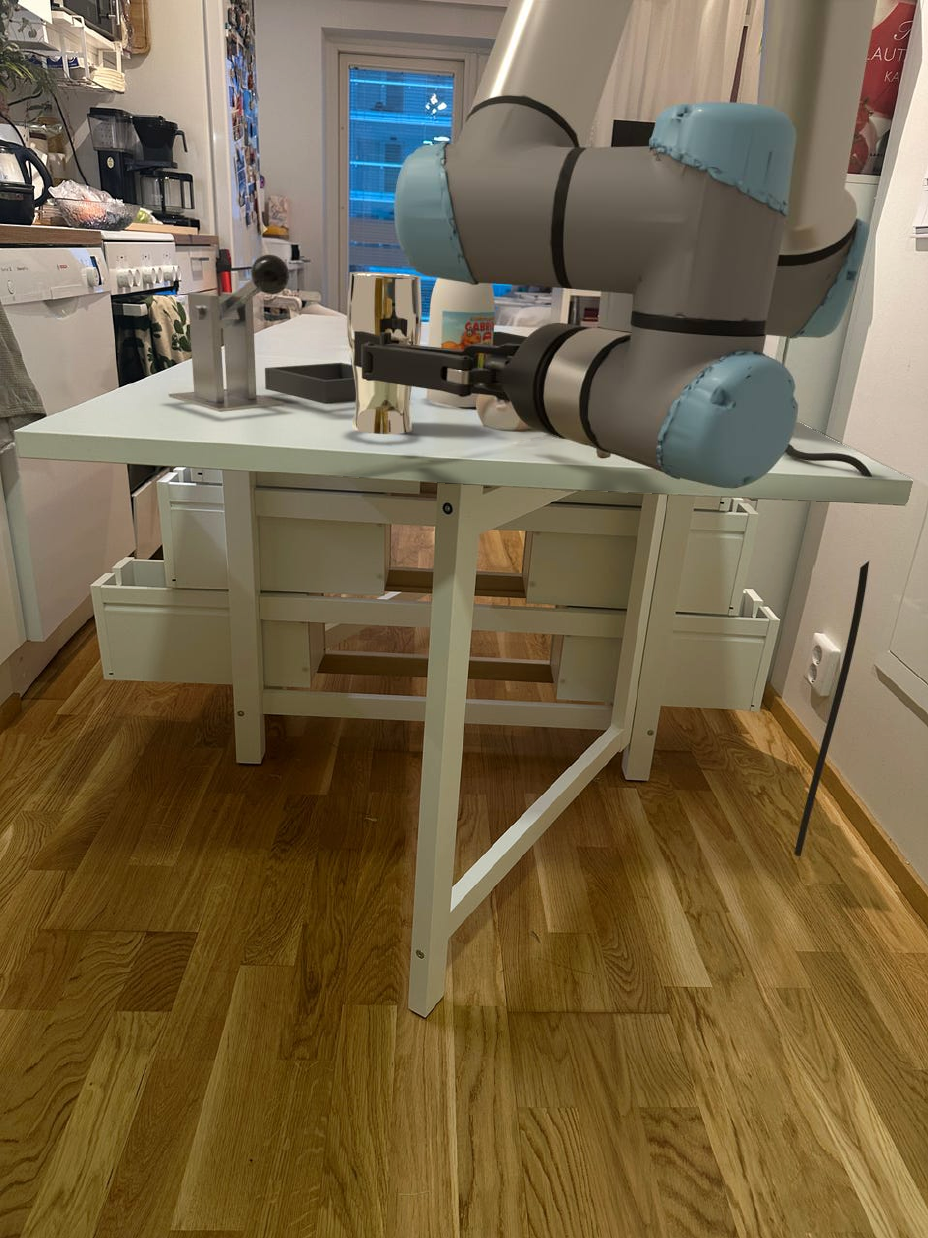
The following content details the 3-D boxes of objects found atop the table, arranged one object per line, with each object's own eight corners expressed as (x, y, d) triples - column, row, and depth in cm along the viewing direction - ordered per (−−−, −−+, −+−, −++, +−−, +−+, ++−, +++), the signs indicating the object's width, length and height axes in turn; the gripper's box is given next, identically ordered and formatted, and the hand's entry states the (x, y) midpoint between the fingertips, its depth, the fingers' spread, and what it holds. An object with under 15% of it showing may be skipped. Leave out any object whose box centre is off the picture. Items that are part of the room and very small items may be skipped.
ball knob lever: (300, 286, 85) (290, 248, 85) (269, 285, 83) (258, 247, 82) (234, 333, 95) (224, 299, 94) (204, 334, 92) (194, 300, 92)
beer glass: (338, 440, 84) (337, 272, 79) (357, 427, 91) (358, 270, 85) (409, 446, 84) (414, 277, 78) (424, 432, 90) (429, 275, 84)
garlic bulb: (514, 443, 87) (521, 360, 84) (464, 432, 91) (468, 352, 88) (551, 435, 92) (558, 356, 89) (501, 425, 96) (507, 348, 93)
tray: (401, 403, 105) (402, 374, 104) (325, 411, 98) (324, 381, 96) (340, 389, 112) (340, 362, 111) (265, 396, 105) (264, 367, 103)
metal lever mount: (283, 413, 96) (280, 297, 91) (219, 420, 90) (212, 297, 86) (232, 398, 102) (227, 290, 97) (169, 404, 97) (160, 290, 92)
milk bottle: (415, 403, 106) (421, 220, 98) (441, 395, 112) (448, 223, 104) (475, 411, 103) (486, 223, 95) (498, 402, 110) (510, 226, 102)
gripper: (419, 452, 55) (294, 396, 72) (705, 431, 68) (542, 387, 84) (424, 326, 52) (292, 298, 69) (722, 328, 65) (550, 304, 81)
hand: (429, 347), depth 76 cm, fingers open, 13 cm apart
